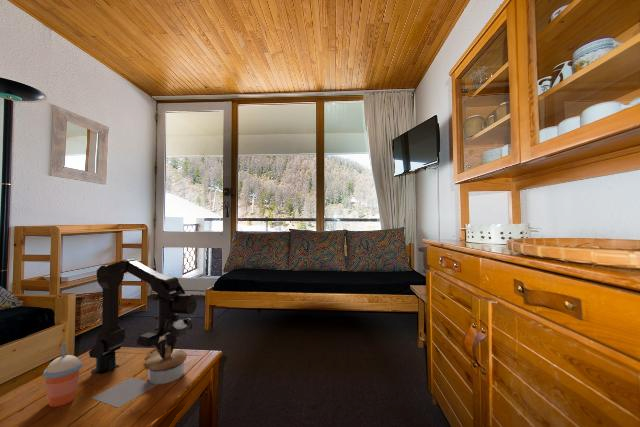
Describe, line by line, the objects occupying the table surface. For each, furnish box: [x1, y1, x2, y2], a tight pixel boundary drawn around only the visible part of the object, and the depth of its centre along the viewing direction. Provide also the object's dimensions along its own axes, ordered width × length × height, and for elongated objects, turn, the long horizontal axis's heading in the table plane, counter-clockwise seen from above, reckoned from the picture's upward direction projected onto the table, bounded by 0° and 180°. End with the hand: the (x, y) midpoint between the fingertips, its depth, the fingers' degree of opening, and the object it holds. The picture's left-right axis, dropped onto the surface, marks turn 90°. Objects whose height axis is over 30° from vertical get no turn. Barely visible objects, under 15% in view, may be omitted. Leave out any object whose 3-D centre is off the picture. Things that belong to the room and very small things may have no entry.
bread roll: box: [144, 346, 159, 361], centre depth 114 cm, size 10×10×8 cm
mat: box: [91, 376, 158, 409], centre depth 93 cm, size 13×13×1 cm
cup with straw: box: [42, 341, 83, 408], centre depth 89 cm, size 9×9×18 cm
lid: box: [145, 344, 187, 370], centre depth 103 cm, size 13×13×5 cm
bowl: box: [147, 361, 185, 385], centre depth 103 cm, size 11×11×4 cm
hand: (166, 355), depth 103 cm, fingers closed on lid, 3 cm apart
